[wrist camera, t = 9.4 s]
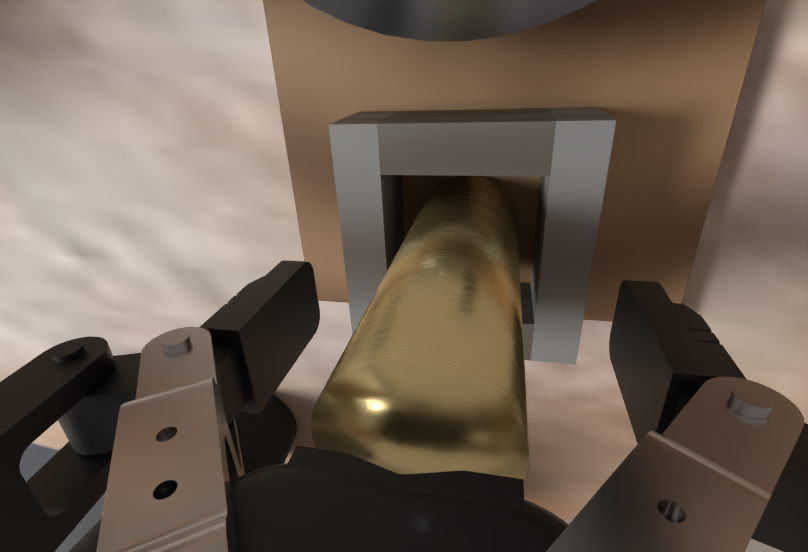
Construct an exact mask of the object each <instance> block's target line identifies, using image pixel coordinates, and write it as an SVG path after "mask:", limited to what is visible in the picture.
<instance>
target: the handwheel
mask: <svg viewBox="0 0 808 552" xmlns="http://www.w3.org/2000/svg"><path fill="white" fill-rule="evenodd" d="M303 1H304V2H306V3H307V4H309V5H310V6H312V7H314V8H316V9H318V10H320V11H322V12H325V13H327V14H329V15H331V16H333V17H335V18H337V19H339V20H341V21H343V22H346V23H348V24H351V25H354V26H357V27H361V28H364V29H367V30H370V31H374V32H377V33H380V34H383V35H389V36H395V37H402V38H409V39H415V40H422V41H433V42H454V41H476V40H483V39H489V38H496V37H503V36H508V35H511V34H515V33H518V32H521V31H525V30H528V29H532V28H535V27H538V26H542V25H545V24H547V23H549V22H552V21H554V20H556V19H558V18H561V17H563V16H565V15H568V14H570V13H572V12H574V11H577V10H579V9H581V8H583V7H585V6H587V5H589V4H591V3H593V2H595V1H596V0H303Z"/></svg>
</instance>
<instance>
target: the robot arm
mask: <svg viewBox="0 0 808 552" xmlns="http://www.w3.org/2000/svg"><path fill="white" fill-rule="evenodd" d="M319 320H320V310H319V303H318V296H317V289H316V283H315V276H314V270H313V267H312V265H311V263H310V262H302V261H281V262H280V263H279V264H278V265H277V266H276V267H274V268H273V269H272V270H271V271H270V272H269V273H268V274H267V275H266V276H263V277H261V278H259V279H257V280H255V281H253V282H251V283H249V284H247V285H246V286H245V287H244V288H243V289H242V290H241V291H240V292H239V293H237V296H234V297H233V298H232V299H231V300H230V301H228V304H225V305H224V306H223V307H222V308H221V309H219V310H218V311H217V312H216V313H215V314H214V315H213V316H212V317H210V318H209V319H208V320H207V321H206V322H205V323H204V324H203V325H201V326H200V327H185V328H179V329H175V330H171V331H168V332H166V333H163V334H161V335H159V336H157V337H156V338H154V339H153V340H151V341H150V342H149V343H147V344H146V345H145V347H144V348H143V350H142V352H141V353H136V354H127V355H118V356H113V355H112V353H111V350H110V348H109V345H108V343H107V341H106V340H105V339H103V338H100V337H83V338H77V339H73V340H70V341H66V342H64V343H61V344H58V345H56V346H54V347H52V348H50V349H48V350H46V351H45V352H43V353H42V354H40V355H39V356H37V357H36V358H34V359H33V360H32V361H30V362H29V363H27V364H26V365H24V366H23V367H21V368H20V369H19V370H17V371H16V372H14V373H13V374H11V375H10V376H8V377H7V378H5V379H4V380H3V381H1V382H0V552H55V550H56V549H57V548H58V547H59V546H60V544H61V543H62V542H63V541H64V540H65V539H66V537H67V536H68V535H69V534H70V533H71V531H72V530H73V529H74V528H75V527H76V525H77V524H78V523H79V522H80V521H81V520H82V519H83V517H84V516H85V515H86V514H87V513H88V512H89V510H90V509H91V508H92V507H93V506H94V504H95V503H96V502H97V501H98V500H99V499H100V497H101V496H102V495H103V494H104V493H105V492H106V495H105V501H104V508H103V514H102V520H101V526H100V532H99V538H98V544H97V550H96V552H745V550H746V548H747V545H748V543H749V541H750V539H751V538H752V539H754V540H757V541H759V542H761V543H764V544H766V545H769V546H771V547H774V548H776V549H779V550H781V551H784V552H808V424H806V423H804V417H803V415H802V413H801V412H800V410H799V409H798V407H796V406H795V405H794V404H793V403H792V402H791V401H790V400H789V399H787V398H786V397H785V396H783V395H782V394H780V393H779V392H777V391H775V390H773V389H771V388H769V387H767V386H764V385H762V384H759V383H756V382H754V381H750V380H747V379H746V378H745V376H744V375H743V374H742V372H741V371H740V369H739V368H738V367H737V365H736V364H735V362H734V361H733V360H732V358H731V357H730V355H729V354H728V353H727V351H726V350H725V348H724V347H723V346H722V345H720V341H719V340H718V339H717V337H716V336H715V335H714V333H711V329H710V328H709V326H708V325H707V323H706V322H705V321H704V319H703V318H702V316H700V315H699V314H697V313H696V312H694V311H693V310H691V309H690V308H689V307H687V306H686V305H684V304H680V303H672V301H671V300H670V298H669V296H668V295H667V293H666V292H665V290H664V289H663V287H662V285H661V284H660V283H659V282H652V281H634V280H623V282H622V283H621V285H620V289H619V293H618V298H617V303H616V308H615V313H614V318H613V323H612V328H611V333H610V341H609V351H610V359H611V362H612V365H613V369H614V372H615V375H616V378H617V381H618V384H619V387H620V390H621V393H622V397H623V400H624V403H625V406H626V409H627V412H628V415H629V418H630V421H631V424H632V428H633V431H634V434H635V437H636V440H637V443H638V445H637V446H636V447H635V448H634V449H633V450H632V452H631V453H630V454H629V455H628V456H627V457H626V459H625V460H624V461H623V462H622V463H621V464H620V466H619V467H618V468H617V469H616V470H615V471H614V473H613V474H612V475H611V476H610V477H609V478H608V480H607V481H606V482H605V483H604V484H603V485H602V487H601V488H600V489H599V490H598V491H597V493H596V494H595V495H594V496H593V497H592V498H591V500H590V501H589V502H588V503H587V504H586V505H585V507H584V508H583V509H582V510H581V511H580V512H579V514H578V515H577V516H576V517H575V518H574V519H573V521H572V522H571V523H570V524H569V525H568V524H567V523H566V522H565V521H563V520H562V519H560V518H559V517H557V516H556V515H554V514H553V513H551V512H550V511H548V510H546V509H544V508H542V507H540V506H538V505H536V504H534V503H532V502H529V501H527V500H524V487H523V479H518V478H511V477H504V476H498V475H491V474H484V473H477V472H471V471H464V470H461V471H447V472H433V473H419V474H398V473H395V472H393V471H390V470H388V469H385V468H383V467H381V466H378V465H376V464H373V463H371V462H368V461H366V460H363V459H361V458H359V457H356V456H354V455H351V454H349V453H343V452H336V451H329V450H323V449H316V448H309V447H302V446H297V447H296V449H295V451H294V453H293V455H292V456H291V458H290V460H289V462H288V463H285V464H278V465H273V466H268V467H264V468H261V469H257V470H254V471H252V472H249V473H247V474H245V472H244V466H243V460H242V454H241V448H240V442H239V436H238V431H237V426H236V422H235V419H234V418H235V416H236V415H237V414H238V412H239V411H240V412H248V413H255V414H260V412H261V411H262V410H263V408H264V407H265V405H266V404H267V402H268V401H269V399H270V398H271V397H272V395H273V394H274V392H275V391H276V389H277V388H278V386H279V385H280V383H281V382H282V381H283V379H284V378H285V376H286V375H287V373H288V372H289V370H290V369H291V368H292V366H293V365H294V363H295V362H296V360H297V359H298V357H299V356H300V355H301V353H302V352H303V350H304V349H305V347H306V346H307V344H308V343H309V342H310V340H311V339H312V337H313V336H314V334H315V333H316V331H317V328H318V325H319ZM57 420H58V421H59V423H60V425H61V427H62V429H63V431H64V432H65V434H66V436H67V438H68V440H69V442H68V443H67V444H66V445H65V446H64V447H63V448H62V449H61V450H60V451H59V452H57V453H56V454H55V455H54V456H53V457H52V458H51V459H50V460H49V461H48V462H47V463H46V464H45V465H44V466H43V467H42V468H41V469H40V470H39V471H38V472H36V474H34V475H33V476H32V477H31V478H30V479H29V480H28V481H27V482H26V481H25V480H24V478H23V477H22V475H21V473H20V469H19V464H20V459H21V457H22V454H23V452H24V451H25V449H26V448H27V447H28V446H29V445H30V444H31V443H32V442H33V441H34V440H35V439H36V438H38V437H39V436H40V435H41V434H42V433H43V432H44V431H46V430H47V429H48V428H49V427H50V426H51V425H52V424H54V423H55V422H56V421H57Z"/></svg>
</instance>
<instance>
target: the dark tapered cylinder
mask: <svg viewBox="0 0 808 552" xmlns="http://www.w3.org/2000/svg"><path fill="white" fill-rule="evenodd" d="M234 419H235V422H236V426H237V431H238V436H239V442H240V448H241V454H242V460H243V466H244V472H245V474H247V473H249V472H252V471H254V470H257V469H261V468H264V467H268V466H273V465H278V464H284V462H285V460H286V458H287V455H288V453H289V450H290V448H291V446H292V443H293V441H294V439H295V436H296V432H297V427H296V422H295V419H294V416H293V415H292V413H291V411H290V410H289V409H288V407H287V406H286V405H285V404H284V403H283V402H282V401H280V400H279V399H278V398H276V397H275V396H273V395H272V397H271V398H270V399H269V401H268V402H267V404H266V405H265V407H264V408H263V410H262V411H261V412H260V414H255V413H248V412H240V411H239V412H238V414H237V415H236V416H235V418H234ZM101 520H102V518H101V519H100V520H99V521H98V522H97V523H96V525H94V527H92V529H91V530H89V532H87V533H86V534H85V536H84V537H83V538H82V539H81V540H80V541H79V542H78V543H77V544H76V545H75V546H74V547H73V548H72V549H71V550H70V551H69V552H96V550H97V544H98V538H99V532H100V526H101Z"/></svg>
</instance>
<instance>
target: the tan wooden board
mask: <svg viewBox="0 0 808 552" xmlns="http://www.w3.org/2000/svg"><path fill="white" fill-rule="evenodd" d="M765 2H766V0H596V1H595V2H593V3H591V4H589V5H587V6H585V7H583V8H581V9H579V10H577V11H574V12H572V13H570V14H568V15H565V16H563V17H561V18H558V19H556V20H554V21H552V22H549V23H547V24H545V25H542V26H538V27H535V28H532V29H528V30H525V31H521V32H518V33H515V34H511V35H508V36H503V37H496V38H489V39H483V40H476V41H454V42H433V41H422V40H415V39H409V38H402V37H395V36H389V35H383V34H380V33H377V32H374V31H370V30H367V29H364V28H361V27H357V26H354V25H351V24H348V23H346V22H343V21H341V20H339V19H337V18H335V17H333V16H331V15H329V14H327V13H325V12H322V11H320V10H318V9H316V8H314V7H312V6H310V5H309V4H307V3H306V2H304V1H303V0H263V4H264V10H265V17H266V23H267V29H268V35H269V42H270V48H271V54H272V60H273V67H274V73H275V79H276V85H277V92H278V98H279V104H280V111H281V117H282V123H283V129H284V136H285V142H286V148H287V154H288V161H289V167H290V173H291V179H292V186H293V192H294V198H295V205H296V211H297V217H298V223H299V230H300V236H301V242H302V248H303V255H304V261H305V262H310V263H311V265H312V267H313V270H314V276H315V283H316V289H317V296H318V300H319V301H333V302H347V303H349V307H350V316H351V325H352V334H354V332H355V330H356V328H357V326H358V324H359V322H360V321H361V319H362V317H363V315H364V313H365V311H366V309H367V308H368V306H369V304H370V302H371V300H372V298H373V297H374V295H375V293H376V291H377V289H378V287H379V285H380V284H381V282H382V280H383V278H384V276H385V274H386V273H387V271H388V269H389V267H390V265H391V263H392V261H393V260H394V258H395V256H396V254H397V252H398V250H399V248H400V247H401V245H402V243H403V241H404V239H405V237H406V236H407V234H408V232H409V230H410V228H411V226H412V224H413V223H414V221H415V219H416V217H417V215H418V213H419V212H420V210H421V208H422V206H423V204H424V202H425V200H426V199H427V197H428V195H429V194H430V192H431V191H432V190H433V189H434V188H435V187H436V186H437V185H438V184H440V183H441V182H443V181H444V180H446V179H448V178H450V177H453V176H484V177H487V178H490V179H492V180H494V181H495V182H497V183H498V184H500V185H501V186H502V187H503V188H504V189H505V190H506V191H507V192H508V194H509V195H510V197H511V198H512V200H513V203H514V205H515V209H516V214H517V229H518V248H519V268H520V288H521V307H522V327H523V347H524V360H532V361H543V362H554V363H565V364H576V360H577V354H578V348H579V342H580V335H581V329H582V323H583V319H586V320H600V321H613V318H614V313H615V308H616V303H617V298H618V293H619V289H620V285H621V283H622V282H623V280H634V281H652V282H659V283H660V284H661V285H662V287H663V289H664V290H665V292H666V293H667V295H668V296H669V298H670V300H671V301H672V303H680V304H681V303H682V299H683V296H684V292H685V289H686V285H687V282H688V278H689V274H690V271H691V267H692V264H693V260H694V257H695V253H696V249H697V246H698V242H699V239H700V235H701V231H702V228H703V224H704V221H705V217H706V214H707V210H708V206H709V203H710V199H711V196H712V192H713V188H714V185H715V181H716V178H717V174H718V171H719V167H720V163H721V160H722V156H723V153H724V149H725V145H726V142H727V138H728V135H729V131H730V128H731V124H732V120H733V117H734V113H735V110H736V106H737V103H738V99H739V95H740V92H741V88H742V85H743V81H744V77H745V74H746V70H747V67H748V63H749V60H750V56H751V52H752V49H753V45H754V42H755V38H756V34H757V31H758V27H759V24H760V20H761V17H762V13H763V9H764V6H765Z"/></svg>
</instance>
